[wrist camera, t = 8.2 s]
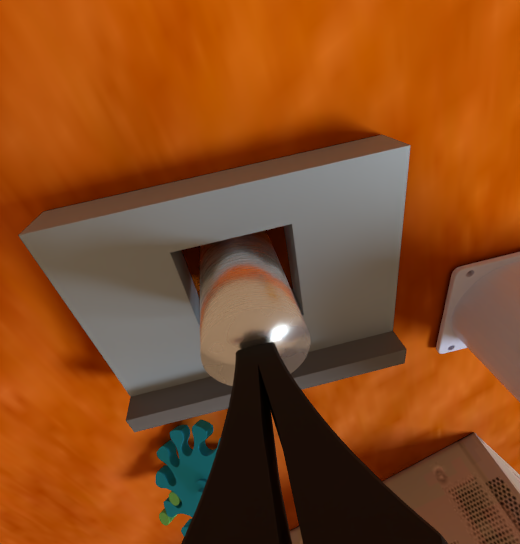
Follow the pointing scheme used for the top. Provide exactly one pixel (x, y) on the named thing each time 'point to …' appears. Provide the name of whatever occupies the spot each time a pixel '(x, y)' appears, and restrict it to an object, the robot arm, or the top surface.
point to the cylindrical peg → (246, 305)
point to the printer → (461, 494)
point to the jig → (220, 226)
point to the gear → (185, 470)
